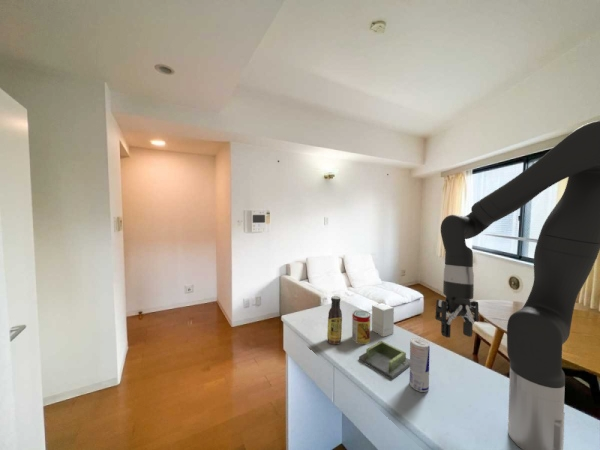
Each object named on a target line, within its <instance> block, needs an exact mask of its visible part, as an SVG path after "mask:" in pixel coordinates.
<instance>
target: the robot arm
mask: <svg viewBox="0 0 600 450" xmlns="http://www.w3.org/2000/svg"><path fill="white" fill-rule="evenodd" d="M565 179H567V181H566V182H567V183H566V186H565V189H564V191H563V193H562V195H561V197H560V199H559V200H558V202H557V203H556V205H555V206H554V208H553V209H552V210H551V211H550V213H549V215H548V216H547V218H546V219H545V221H544V223H543V225H542V227H541V230H540V232H539V234H538V235H539V236H538V238H537V242H536V245H535V249H534V252H533V253H534V254H533V277H534V279H533V284H532V286H531V287H532V288H531V290H530V293H529V295H528V296H527V299H526V301H525V303H524V305H523V306H522V307H521V309H519V310H516V312H513V313H512V314H511V315H510V316H509V318H508V320H507V325H506V349H507V351H506V352H507V356H508V359H509V387H508V421H507V433H508V436H509V437H510V439H511V440H512V442H513V443H514V444H515V445H516V446H517V447H519V448H520V449H521V450H564V442H565V441H564V440H565V439H564V437H565V435H564V434H565V388H566V387H565V386H566V374H565V371H564V370H563V368H562V367H563V363H562V362H563V360H562V359H563V345H564V343H566V341H567V340H568V339H569V337H570V333H571V329H572V328H571V327H572V321H573V315H574V311H575V305H576V301H577V299H578V295H579V294H580V292H581V290H582V288H583V287H584V285H585V283H586V282H587V279H588V278H589V275H590V274H591V272H592V269H593V267H594V264H595V263H596V261H597V259H598V258H597V257H598V256H599V253H600V120H594V121H592V122H588V123H586V124H583V125H581V126H579V127H578V128H576V129H574V130H573V131H571V133H569V134H568V135H567V136H566V137H564V138H562V139H561V140H560V141H559V142H558V143H557V144H556V145H555V146H554V147H552V148H551V149H550V150H549V151H547V152H545V154H544V155H543V156H541V157H540V158H539V159H538V160H536V161H535V162H534V163H532V164H531V165H530V166H528V167H527V168H526V169H525V170H524V171H522V172H521V173H519V174H518V175H516V176H515V177H514V178H512V179H511V180H509V181H508V182H506V183H504V184H503V185H502V186H500V187H499V188H497V189H495V190H494V191H492V192H490V193H489V194H487V195H486V196H484V197H482V198H481V199H479V200H477V201H476V202H475V203H474V204H473V205H472V206H471V207H470V208H471V212H470V213H468V214H467V215H464V216H463V215H459V214H450V215H447V216H445V217H444V218H443V220H442V221H441V224H440V234H441V241H442V245H443V248H444V252H445V254H444V268H443V281H442V282H443V287H442V293H443V295H444V296H445V299H444V300H443V299H439V298H438V299H436V306H435V320H436V321H439V322H440V324H441V328H440V331H441V332H440V333H441V335H442V336H443V337H445V338H448V339H450V338H451V324H452V322H453V320H455V319H457V317H461V318H462V319H463V323H462V324H463V325H462V326H463V327H462V329H463V330H462V333H463V335H464V336H466V337H468V338H469V337H471V338H472V337H473V328H474V327H473V325H474V324H475V323H476V322H477V323H479V321H480V317H479V316H480V314H479V313H480V311H479V302H478V301H476V300H473V299H474V290H475V288H474V285H475V284H474V282H475V280H474V277H475V275H474V254H473V250H472V248H470V247H468V245H467V242H466V240H469V239H472V238H475V237H476V236H478V235H480V234H481V233H483V231H485V230H486V229H488V228H489V227H490V226H491V225H492V224H494V223H496V222H497V221H499V220H501V219H503V218H505V217H507V216H509V215H510V214H514V212H516V211H518V210H519V209H521V208H522V207H524V206H526V205H527V204H528V203H529V202H531V201H532V200H533V199H535V198H536V197H537V196H539V195H540V194H541V193H542V192H544V191H545V190H547V189H548V188H550V187H552V186H554V185H556V184H557V183H559V182H562V181H564V180H565ZM473 314H474V315H473Z"/></svg>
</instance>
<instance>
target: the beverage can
mask: <svg viewBox="0 0 600 450" xmlns="http://www.w3.org/2000/svg"><path fill="white" fill-rule="evenodd" d="M430 353H431V352H430V343H429V342H428V341H427V340H426V339H424V338H419V337H412V338H410V341H409V359H410V367H409V385H410V387H411V388H413V389H414V390H415V391H418V392H420V393H425V392H428V391H429V390H430Z"/></svg>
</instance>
